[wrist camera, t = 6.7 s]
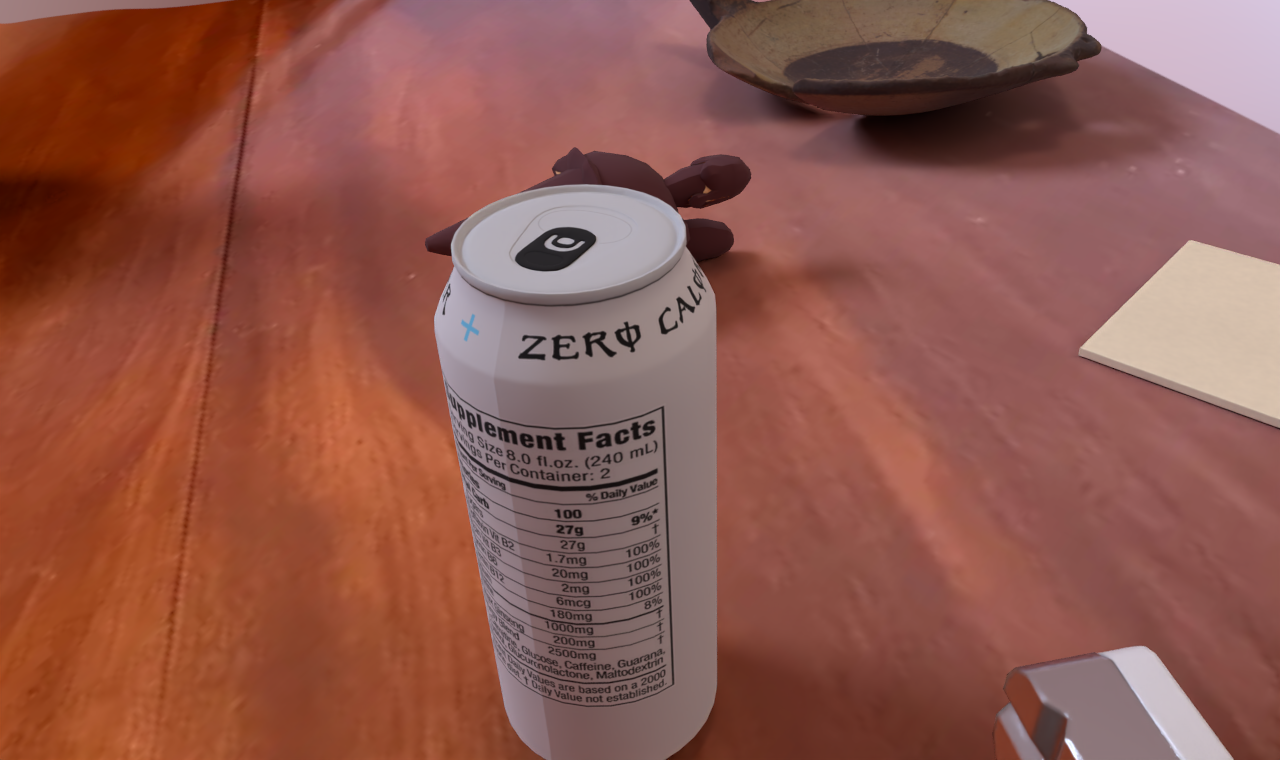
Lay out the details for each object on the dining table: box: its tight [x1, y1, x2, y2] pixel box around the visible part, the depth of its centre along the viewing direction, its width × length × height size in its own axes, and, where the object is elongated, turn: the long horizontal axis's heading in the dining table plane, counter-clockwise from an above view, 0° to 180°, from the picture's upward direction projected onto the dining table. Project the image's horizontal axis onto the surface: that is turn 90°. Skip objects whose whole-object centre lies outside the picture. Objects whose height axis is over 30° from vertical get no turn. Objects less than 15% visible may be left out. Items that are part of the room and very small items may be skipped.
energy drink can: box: [434, 184, 717, 760], centre depth 26 cm, size 6×6×15 cm
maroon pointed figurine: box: [425, 147, 751, 261], centre depth 48 cm, size 7×7×15 cm
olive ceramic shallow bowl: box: [690, 0, 1102, 115], centre depth 67 cm, size 22×30×8 cm
